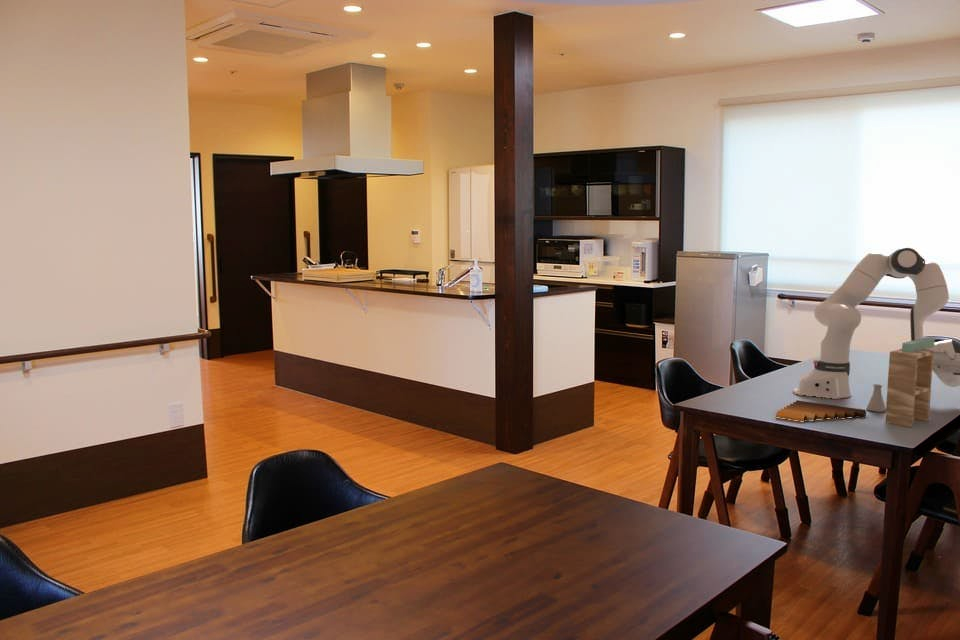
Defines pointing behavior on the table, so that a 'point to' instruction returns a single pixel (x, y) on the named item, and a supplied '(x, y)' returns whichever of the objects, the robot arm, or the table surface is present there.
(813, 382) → the robot arm
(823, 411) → the pan flute
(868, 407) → the flask
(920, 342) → the mint green bar
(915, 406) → the rack
